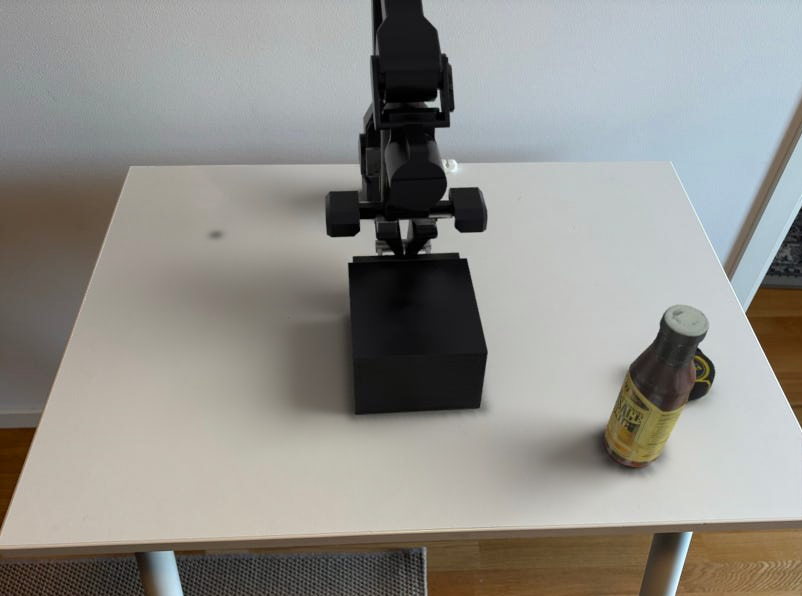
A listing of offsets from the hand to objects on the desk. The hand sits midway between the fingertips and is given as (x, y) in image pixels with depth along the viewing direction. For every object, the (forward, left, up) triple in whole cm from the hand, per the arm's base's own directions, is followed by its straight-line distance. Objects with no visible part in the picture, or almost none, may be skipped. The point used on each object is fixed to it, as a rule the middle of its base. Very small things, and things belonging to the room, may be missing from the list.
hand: (404, 267), depth 94 cm
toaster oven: (+3, +11, -5) cm, 13 cm away
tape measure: (-25, +24, -5) cm, 35 cm away
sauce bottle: (-15, +31, -5) cm, 35 cm away
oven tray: (+2, +6, -4) cm, 8 cm away
